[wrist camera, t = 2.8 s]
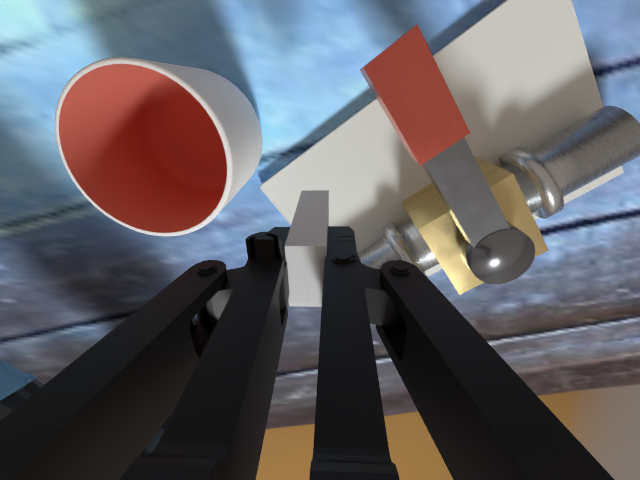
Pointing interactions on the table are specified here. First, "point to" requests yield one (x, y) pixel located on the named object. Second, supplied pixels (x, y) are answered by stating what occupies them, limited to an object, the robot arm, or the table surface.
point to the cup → (156, 142)
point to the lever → (446, 156)
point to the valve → (512, 193)
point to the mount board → (475, 107)
